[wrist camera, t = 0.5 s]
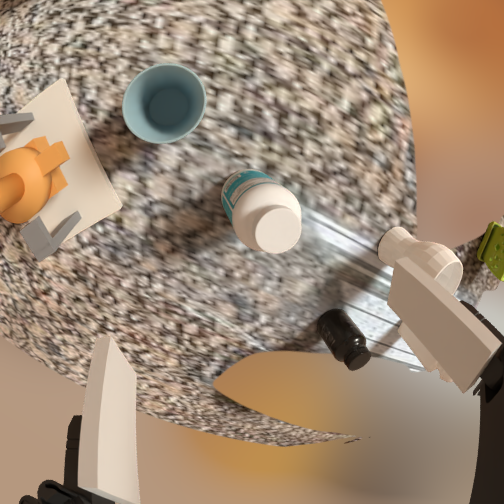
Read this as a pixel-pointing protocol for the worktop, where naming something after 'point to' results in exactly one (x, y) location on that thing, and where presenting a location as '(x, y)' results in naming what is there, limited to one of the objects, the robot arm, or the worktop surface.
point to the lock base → (74, 170)
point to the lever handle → (30, 178)
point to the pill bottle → (261, 211)
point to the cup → (164, 103)
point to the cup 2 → (422, 257)
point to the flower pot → (493, 250)
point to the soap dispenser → (422, 352)
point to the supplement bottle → (344, 339)
